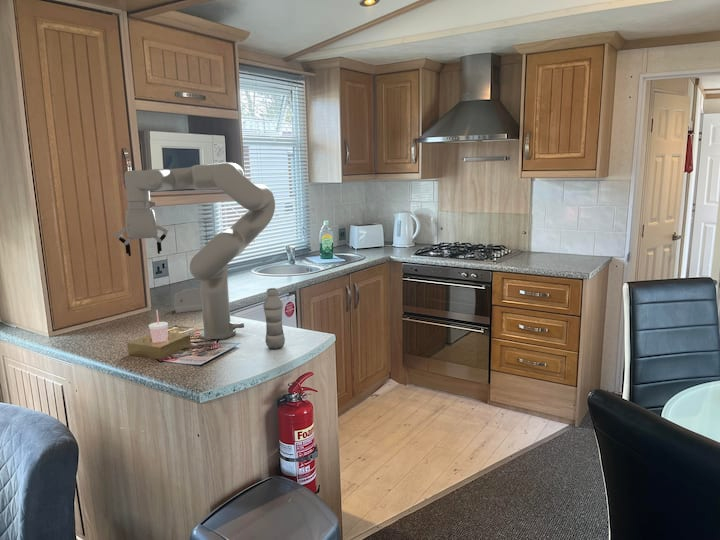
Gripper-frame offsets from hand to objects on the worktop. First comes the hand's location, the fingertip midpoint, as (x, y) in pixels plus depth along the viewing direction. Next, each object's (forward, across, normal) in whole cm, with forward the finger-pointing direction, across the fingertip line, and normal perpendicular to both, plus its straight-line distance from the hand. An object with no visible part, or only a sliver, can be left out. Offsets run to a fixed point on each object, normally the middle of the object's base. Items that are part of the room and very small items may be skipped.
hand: (144, 254), depth 188 cm
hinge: (+31, -18, -35) cm, 50 cm away
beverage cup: (+31, -2, +18) cm, 35 cm away
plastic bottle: (+31, -38, +33) cm, 59 cm away
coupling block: (+30, -2, +18) cm, 35 cm away
